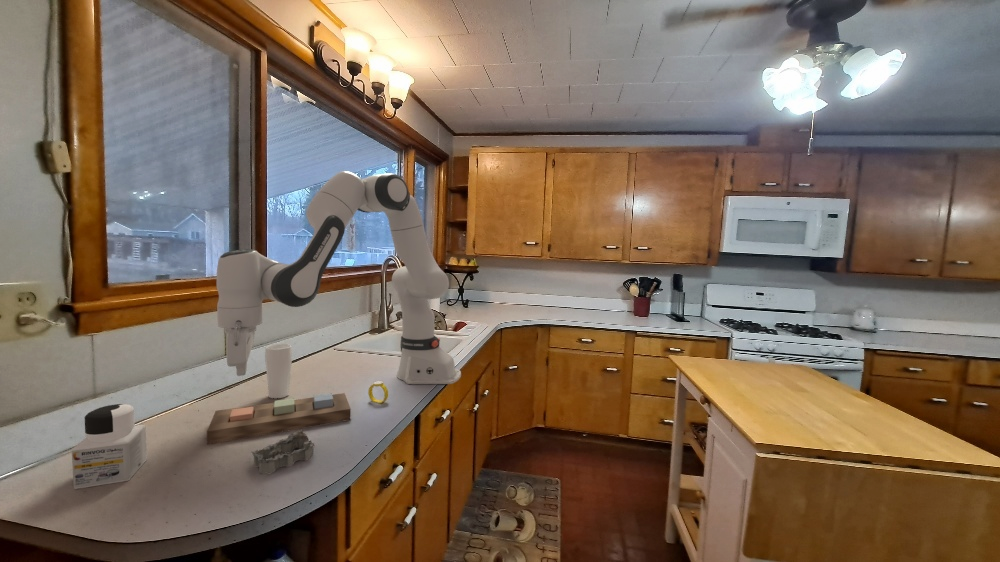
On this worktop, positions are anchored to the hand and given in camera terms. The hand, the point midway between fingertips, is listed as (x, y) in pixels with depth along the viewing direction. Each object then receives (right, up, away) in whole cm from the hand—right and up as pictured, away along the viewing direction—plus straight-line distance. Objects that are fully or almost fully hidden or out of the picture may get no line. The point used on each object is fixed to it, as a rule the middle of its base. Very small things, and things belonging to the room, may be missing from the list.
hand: (241, 374), depth 93 cm
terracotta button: (0, -12, +1) cm, 12 cm away
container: (-12, -15, -19) cm, 27 cm away
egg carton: (+17, -16, -12) cm, 26 cm away
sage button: (+8, -11, +5) cm, 15 cm away
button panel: (+8, -13, +5) cm, 16 cm away
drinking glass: (-3, -12, +21) cm, 24 cm away
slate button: (+15, -11, +9) cm, 21 cm away
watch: (+27, -13, +19) cm, 36 cm away
